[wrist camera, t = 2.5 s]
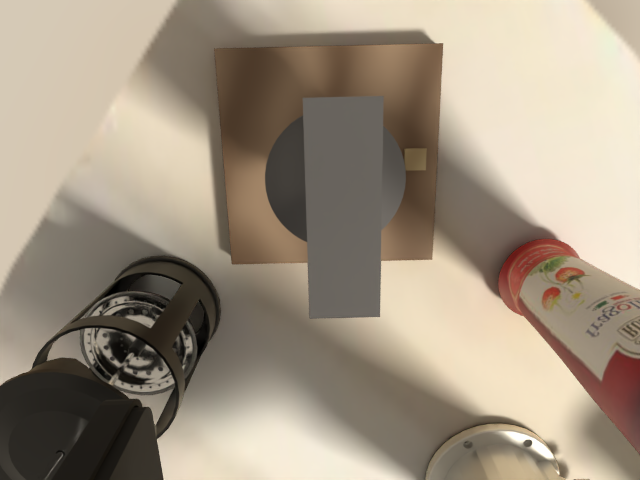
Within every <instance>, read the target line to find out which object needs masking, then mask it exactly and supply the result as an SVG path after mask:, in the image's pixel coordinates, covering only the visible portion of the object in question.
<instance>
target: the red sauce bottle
mask: <svg viewBox="0 0 640 480" xmlns="http://www.w3.org/2000/svg"><path fill="white" fill-rule="evenodd" d="M498 287H499V292H500V296H501V298H502V300H503V302H504V303H505V304H506V305H507V307H508V308H509V309H511V310H512V311H513V312H515V313H517V314H519V315H522V316H524V317H525V318H526V319H527V320H528V321H529V322H530V323H531V325H532V326H533V327H534V328H535V329H536V330H537V331H538V332H539V334H540V335H541V336H542V337H543V338H544V339H545V341H546V342H547V343H548V344H549V345H550V346H551V348H552V349H553V350H554V351H555V352H556V353H557V355H558V356H559V357H560V358H561V360H562V361H563V362H564V363H565V365H566V366H567V367H568V368H569V370H570V371H571V372H572V373H573V375H574V376H575V377H576V379H577V380H578V381H579V382H580V384H581V385H582V386H583V387H584V389H585V390H586V391H587V392H588V394H589V395H590V396H591V397H592V399H593V400H594V401H595V402H596V403H597V404H598V406H599V407H600V408H601V409H602V410H603V411H604V413H605V414H606V415H607V416H608V417H609V418H610V420H611V421H612V422H613V423H614V424H615V425H616V427H617V428H618V429H619V430H620V431H621V432H622V434H623V435H624V436H625V437H626V438H627V440H628V441H629V442H630V443H631V444H632V446H633V447H634V448H635V449H636V450H637V452H638V453H639V454H640V290H639V289H637V288H635V287H633V286H631V285H629V284H627V283H625V282H623V281H621V280H619V279H617V278H615V277H613V276H611V275H610V274H608V273H606V272H604V271H602V270H600V269H598V268H596V267H595V266H593V265H591V264H589V263H587V262H585V261H584V260H582V259H580V258H579V256H578V254H577V253H576V252H575V250H574V249H573V248H571V247H570V246H569V245H568V244H566V243H564V242H561V241H558V240H554V239H539V240H534V241H531V242H528V243H526V244H524V245H522V246H520V247H519V248H518V249H516V250H515V251H514V252H513V253H512V254H511V255H510V256H509V257H508V258H507V260H506V261H505V263H504V264H503V266H502V269H501V271H500V274H499V280H498Z"/></svg>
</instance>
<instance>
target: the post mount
mask: <svg viewBox="0 0 640 480" xmlns="http://www.w3.org/2000/svg"><path fill="white" fill-rule="evenodd" d="M214 51H215V63H216V76H217V88H218V100H219V112H220V125H221V137H222V149H223V161H224V173H225V186H226V198H227V210H228V222H229V235H230V247H231V259H232V264H267V263H308V253H307V242H306V241H303V240H301V239H300V238H298V237H296V236H295V235H293V234H292V233H291V232H290V231H288V230H287V229H286V228H285V227H284V226H283V225H282V224H281V222H280V221H279V220H278V218H277V217H276V215H275V214H274V212H273V210H272V208H271V206H270V203H269V201H268V197H267V193H266V187H265V170H266V163H267V160H268V156H269V154H270V151H271V149H272V147H273V145H274V143H275V141H276V140H277V138H278V137H279V136H280V134H281V133H282V132H283V131H284V130H285V129H286V128H287V127H288V126H289V125H290V124H291V123H292V122H293V121H295V120H296V119H297V118H299V117H301V116H302V115H303V98H316V97H360V96H384V102H383V126H384V127H385V128H386V129H387V130H388V131H389V132H390V133H391V135H392V136H393V137H394V139H395V141H396V142H397V144H398V146H399V148H400V150H401V153H402V156H403V159H404V164H405V170H406V183H405V190H404V195H403V198H402V201H401V204H400V206H399V208H398V210H397V212H396V214H395V215H394V217H393V218H392V219H391V221H390V222H389V223H388V224H387V225H386V226H385V227H384V228H383V229H382V230H381V261H391V260H432V253H433V233H434V213H435V194H436V174H437V154H438V134H439V114H440V95H441V75H442V55H443V43H439V44H395V45H351V46H307V47H264V48H220V49H214Z"/></svg>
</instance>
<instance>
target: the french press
mask: <svg viewBox="0 0 640 480" xmlns="http://www.w3.org/2000/svg"><path fill="white" fill-rule="evenodd" d="M148 274H151V275H158V276H163V277H166V278H169V279H172V280H174V281H176V282H178V283H180V284H182V285H181V287H180V288H179V290H178V291H177V292H176V294H175V295H174V297H173V298H172V299H171V301H170V300H169V299H167V298H165V297H162V296H160V295H157V294H153V293H150V292H143V291H127V290H128V288H129V287H130V285H131V284H132V283H133V282H134V281H135V280H137V279H138V278H140V277H142V276H144V275H148ZM98 301H99V302H98ZM198 301H199V302H200V304H201V306H202V307H203V309H204V321H203V324H202V326H201V328H200V330H199V331H198V332H197V333H196V334H195V332H194V329H193V326H192V324H191V322H190V320H189V316H190V315H191V313H192V311H193V309H194V308H195V306H196V304H197V303H198ZM97 302H98V303H97ZM88 310H90V311H89V312H88V313H87V315H86V316H85V318H83V319H80V318H81V317H82V316H83V315H84V314H85V313H86V312H87V311H88ZM220 313H221V308H220V300H219V297H218V294H217V291H216V289H215V287H214V286H213V284H212V282H211V281H210V280H209V279H208V277H207V276H206V275H205V274H204V273H203V272H202V271H201V270H199V269H198V268H197V267H196V266H194V265H192V264H190V263H188V262H186V261H184V260H181V259H178V258H175V257H168V256H151V257H147V258H143V259H140V260H138V261H136V262H134V263H132V264H130V265H129V266H128V267H126V268H125V269H124V270H123V271H122V272H121V273H120V274H119V275H118V276H117V278H116V279H115V281H114V282H113V283H112V284H111V285H110V286H109V287H108V288H107V289H106V290H105V291H103V292H102V293H101V294H100V295H99V296H98V297H97V298H96V299H95V300H94V301H92V302H91V303H90V304H89V305H88V306H87V307H86V308H85V309H84V310H82V311H81V312H80V313H79V314H78V315H77V316H76V317H75V318H74V319H73V320H71V321H70V322H69V323H68V324H67V325H66V326H65V327H64V328H63V329H61V330H60V331H59V332H58V333H57V334H56V335H55V336H54V337H53V338H52V339H50V340H49V341H48V342H47V343H46V344H45V346H44V347H43V348H42V349H41V350H40V352H39V353H38V355H37V357H36V359H35V361H34V363H33V367H32V369H31V370H30V371H29V372H26V373H22V374H20V375H18V376H16V377H13V378H11V379H9V380H7V381H6V382H5V383H3V384H2V385H0V480H52V478H53V477H54V475H55V474H56V472H57V470H58V469H59V467H60V466H61V464H62V463H63V461H64V460H65V458H66V457H67V455H68V454H69V452H70V451H71V449H72V447H73V446H74V444H75V443H76V441H77V440H78V438H79V437H80V435H81V434H82V432H83V431H84V429H85V427H86V426H87V424H88V423H89V421H90V420H91V418H92V417H93V415H94V414H95V412H96V411H97V409H98V407H99V406H100V405H101V403H102V402H103V401H105V400H119V399H129V398H128V397H127V396H126V395H125V394H123V393H122V392H120V391H124V392H127V393H130V394H138V395H153V394H158V393H162V392H165V391H168V390H170V389H172V388H174V389H173V391H172V393H171V396H170V398H169V400H168V402H167V404H166V406H165V408H164V410H163V412H162V414H161V416H160V418H159V420H158V422H157V424H156V425H155V424H154V427H155V433H156V438H159V437H160V436H161V435H162V434H163V433H164V432H165V431H166V430H167V429H168V428H169V426H170V425H171V423H172V422H173V420H174V418H175V416H176V414H177V412H178V409H179V407H180V405H181V402H182V399H183V396H184V392H185V390H186V388H187V386H188V383H189V381H190V379H191V377H192V374H193V372H194V370H195V368H196V366H197V363H198V361H199V359H200V357H201V355H202V353H203V351H204V350H205V348H206V346H207V344H208V342H209V341H210V340H211V338H212V337H213V335H214V333H215V332H216V330H217V327H218V324H219V321H220ZM79 319H80V320H79ZM77 330H81V331H80V345H81V349H82V353H83V356H84V358H85V360H86V362H87V364H88V365H89V367H90V368H89V369H88V367H87V366H85V365H84V364H82V363H81V362H79V361H78V360H76V359H73V358H58V359H54V360H49V361H47V356H48V353H49V351H50V349H51V347H52V345H53V343H54V342H55V341H56V340H57V339H58V338H59V337H61V336H63V335H65V334H68V333H70V332H72V331H77ZM119 390H120V391H119Z"/></svg>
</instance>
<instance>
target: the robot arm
mask: <svg viewBox="0 0 640 480" xmlns="http://www.w3.org/2000/svg"><path fill="white" fill-rule="evenodd" d="M52 480H163V474H162V468H161V462H160V456H159V450H158V444H157V438H156V433H155V427H154V421H153V415H152V411H151V409H150V408H149V407H142V404H141V402H140V400H138V399H119V400H105V401H103V402H102V403H101V405H100V406H99V407H98V409H97V411H96V412H95V414H94V415H93V417H92V418H91V420H90V421H89V423H88V424H87V426H86V427H85V429H84V431H83V432H82V434H81V435H80V437H79V438H78V440H77V441H76V443H75V444H74V446H73V447H72V449H71V451H70V452H69V454H68V455H67V457H66V458H65V460H64V461H63V463H62V464H61V466H60V467H59V469H58V470H57V472H56V474H55V475H54V477H53V478H52ZM425 480H565V478H563V477H560V476H559V467H558V464H557V460H556V459H555V457H554V455H553V453H552V451H551V450H550V449H549V447H548V446H547V445H546V443H545V442H544V441H543V440H542V439H541V438H540V437H538V436H537V435H536V434H534V433H532V432H531V431H529V430H527V429H525V428H522V427H519V426H515V425H509V424H486V425H480V426H476V427H473V428H470V429H467V430H464V431H462V432H461V433H459V434H457V435H455V436H453V437H452V438H451V439H449V440H448V441H447V442H445V443H444V444H443V445H442V446H441V447H440V448H439V449H438V451H437V452H436V453H435V454H434V456H433V458H432V459H431V461H430V463H429V466H428V468H427V471H426V478H425ZM574 480H590V479H574Z"/></svg>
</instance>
